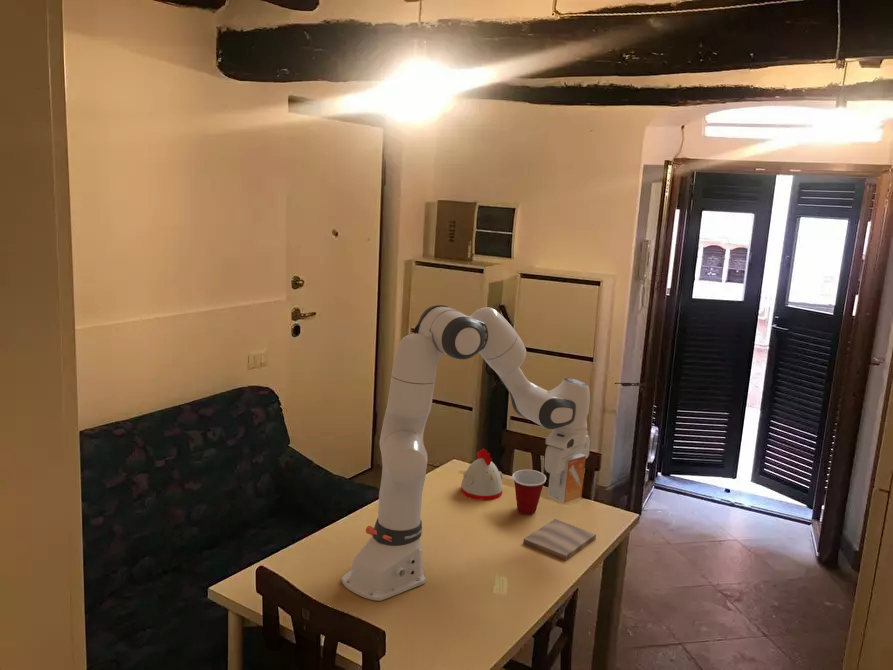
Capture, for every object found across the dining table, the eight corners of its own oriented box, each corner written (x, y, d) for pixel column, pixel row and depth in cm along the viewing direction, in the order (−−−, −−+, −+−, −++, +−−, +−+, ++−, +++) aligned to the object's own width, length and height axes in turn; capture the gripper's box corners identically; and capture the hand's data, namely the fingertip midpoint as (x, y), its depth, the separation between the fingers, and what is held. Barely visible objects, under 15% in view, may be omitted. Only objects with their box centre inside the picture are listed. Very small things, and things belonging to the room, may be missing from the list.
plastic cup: (503, 512, 231) (506, 477, 229) (517, 501, 241) (520, 466, 238) (535, 522, 226) (539, 485, 224) (548, 509, 236) (551, 474, 233)
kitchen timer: (474, 503, 237) (477, 459, 234) (453, 487, 249) (456, 445, 246) (510, 496, 244) (513, 454, 241) (488, 481, 256) (491, 440, 253)
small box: (564, 504, 207) (568, 460, 205) (546, 496, 212) (551, 453, 209) (581, 497, 212) (586, 455, 210) (564, 490, 217) (569, 448, 215)
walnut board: (565, 560, 204) (566, 555, 204) (523, 543, 212) (523, 538, 212) (595, 538, 218) (596, 534, 218) (554, 523, 226) (555, 518, 226)
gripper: (578, 423, 218) (573, 467, 221) (542, 439, 202) (538, 486, 205) (597, 429, 215) (592, 473, 217) (562, 445, 199) (557, 493, 201)
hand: (565, 480), depth 211 cm, fingers closed on small box, 8 cm apart
